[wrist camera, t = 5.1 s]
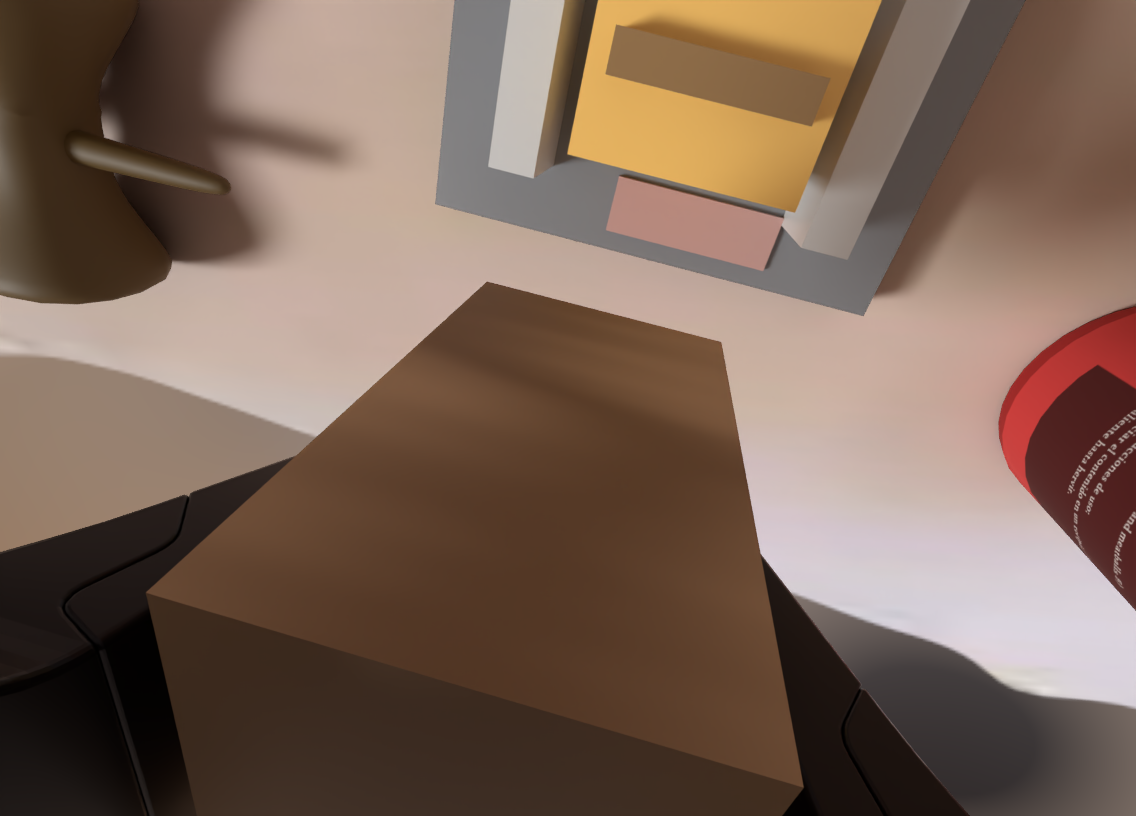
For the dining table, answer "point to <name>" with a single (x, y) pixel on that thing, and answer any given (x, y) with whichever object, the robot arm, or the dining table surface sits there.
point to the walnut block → (493, 592)
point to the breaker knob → (718, 90)
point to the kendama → (72, 160)
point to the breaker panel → (693, 215)
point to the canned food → (1082, 440)
